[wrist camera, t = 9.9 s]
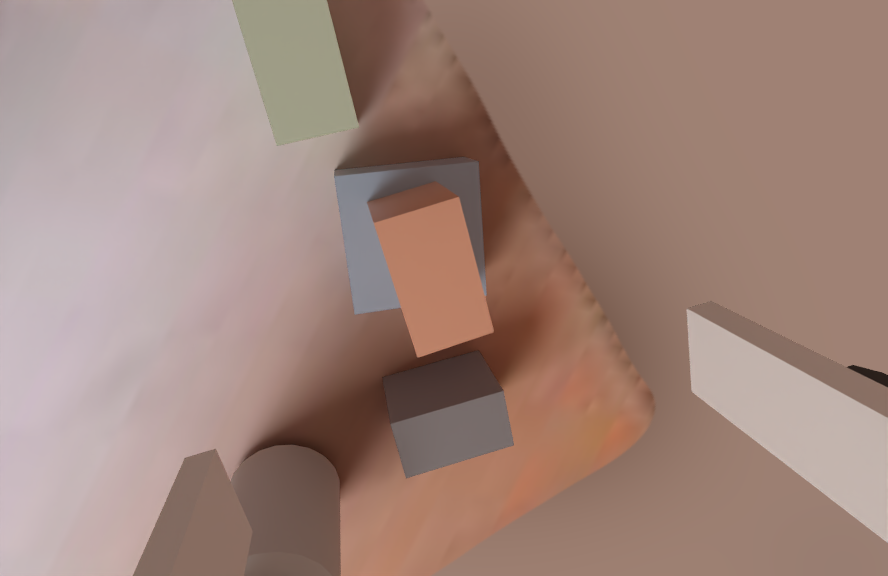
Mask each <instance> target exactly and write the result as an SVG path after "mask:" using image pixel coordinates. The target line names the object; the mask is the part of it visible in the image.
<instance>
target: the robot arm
mask: <svg viewBox="0 0 888 576" xmlns="http://www.w3.org/2000/svg"><path fill="white" fill-rule="evenodd" d="M687 321H688V338H689V355H690V371H691V388H692V392H693V393H694V394H696V395H697V396H698V397H699V398H701V399H702V400H704V401H705V402H706V403H707V404H708V405H710V406H711V407H712V408H714V409H715V410H716V411H718V412H719V413H720V414H722V415H723V416H724V417H725V418H727V419H728V420H729V421H730V422H732V423H733V424H734V425H736V426H737V427H738V428H740V429H741V430H742V431H743V432H745V433H746V434H747V435H749V436H750V437H751V438H753V439H754V440H755V441H756V442H758V443H759V444H760V445H762V446H763V447H764V448H765V449H767V450H768V451H769V452H771V453H772V454H773V455H775V456H776V457H777V458H778V459H780V460H781V461H782V462H784V463H785V464H786V465H788V466H789V467H790V468H791V469H793V470H794V471H795V472H797V473H798V474H799V475H800V476H802V477H803V478H804V479H806V480H807V481H808V482H810V483H811V484H812V485H813V486H815V487H816V488H817V489H819V490H820V491H821V492H823V493H824V494H825V495H826V496H828V497H829V498H830V499H832V500H833V501H834V502H835V503H837V504H838V505H839V506H841V507H842V508H843V509H845V510H846V511H847V512H848V513H850V514H851V515H852V516H854V517H855V518H856V519H858V520H859V521H860V522H862V523H863V524H864V525H865V526H867V527H868V528H869V529H870V530H872V531H873V532H875V533H876V534H877V535H878V536H880V537H881V538H882V539H884V540H885V541H886V542H887V543H888V375H886V374H884V373H882V372H878V371H873V370H870V369H866V368H862V367H858V366H854V365H852V366H848V367H845V366H843V365H841V364H839V363H837V362H835V361H833V360H831V359H829V358H826V357H824V356H822V355H820V354H818V353H816V352H814V351H812V350H810V349H808V348H806V347H804V346H802V345H800V344H798V343H796V342H793V341H792V340H790V339H788V338H785V337H783V336H782V335H780V334H777V333H775V332H773V331H771V330H769V329H767V328H765V327H763V326H761V325H759V324H757V323H755V322H753V321H751V320H749V319H747V318H745V317H742V316H741V315H739V314H737V313H735V312H733V311H731V310H728V309H727V308H724V307H722V306H720V305H718V304H716V303H714V302H712V301H710V302H707V303H703V304H700V305H697V306H693V307H690V308H687ZM252 533H253V531H252V528H251V526H250V524H249V522H248V520H247V517H246V515H245V513H244V511H243V508H242V506H241V504H240V502H239V500H238V497H237V495H236V493H235V491H234V488H233V486H232V484H231V482H230V480H229V477H228V475H227V473H226V471H225V468H224V466H223V464H222V462H221V460H220V457H219V455H218V453H217V451H216V449H213V450H210V451H207V452H203V453H200V454H197V455H193V456H190V457H187V458H185V459H184V461H183V464H182V466H181V468H180V470H179V473H178V475H177V477H176V479H175V482H174V484H173V486H172V488H171V491H170V493H169V495H168V498H167V500H166V502H165V504H164V507H163V509H162V511H161V513H160V516H159V518H158V520H157V522H156V525H155V527H154V529H153V531H152V534H151V536H150V538H149V541H148V543H147V545H146V547H145V550H144V552H143V554H142V556H141V559H140V561H139V563H138V565H137V568H136V570H135V572H134V575H133V576H244V573H245V568H246V563H247V558H248V553H249V548H250V543H251V538H252Z"/></svg>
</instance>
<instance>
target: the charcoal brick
mask: <svg viewBox="0 0 888 576" xmlns="http://www.w3.org/2000/svg"><path fill="white" fill-rule="evenodd" d="M382 378H383V384H384V390H385V396H386V401H387V407H388V413H389V418H390V424H391V428H392V431H393V435H394V438H395V442H396V445H397V448H398V452H399V455H400V459H401V462H402V466H403V469H404V473H405V476H406V478H409V477H412V476H415V475H418V474H422V473H425V472H428V471H431V470H435V469H438V468H441V467H444V466H448V465H451V464H454V463H458V462H461V461H464V460H467V459H471V458H474V457H477V456H480V455H484V454H487V453H490V452H493V451H497V450H500V449H503V448H506V447H510V446H513V445H514V443H513V437H512V432H511V427H510V422H509V417H508V412H507V407H506V401H505V396H504V391H503V389H502V388H501V386H500V384H499V383H498V381H497V380H496V378H495V376H494V375H493V373H492V371H491V370H490V368H489V366H488V365H487V363H486V362H485V360H484V358H483V357H482V355H481V353H480V352H479V350H478V351H474V352H470V353H467V354H463V355H460V356H456V357H453V358H449V359H446V360H442V361H439V362H435V363H432V364H428V365H424V366H421V367H417V368H414V369H410V370H407V371H403V372H400V373H396V374H393V375H389V376H385V377H382Z"/></svg>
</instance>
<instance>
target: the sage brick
mask: <svg viewBox="0 0 888 576" xmlns="http://www.w3.org/2000/svg"><path fill="white" fill-rule="evenodd" d="M232 2H233V5H234V9H235V12H236V15H237V18H238V22H239V25H240V28H241V31H242V34H243V38H244V41H245V44H246V47H247V51H248V54H249V57H250V60H251V64H252V67H253V70H254V73H255V76H256V80H257V83H258V86H259V89H260V93H261V96H262V99H263V102H264V106H265V109H266V112H267V115H268V119H269V122H270V125H271V128H272V131H273V135H274V138H275V141H276V144H277V146H279V145H284V144H288V143H292V142H297V141H301V140H306V139H310V138H315V137H319V136H323V135H328V134H332V133H337V132H341V131H346V130H350V129H355V128H359V125H358V121H357V117H356V113H355V109H354V105H353V101H352V97H351V94H350V90H349V86H348V82H347V78H346V74H345V70H344V66H343V62H342V58H341V54H340V50H339V46H338V42H337V38H336V34H335V30H334V26H333V23H332V19H331V15H330V11H329V7H328V3H327V0H232Z"/></svg>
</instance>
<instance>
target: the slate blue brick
mask: <svg viewBox="0 0 888 576" xmlns="http://www.w3.org/2000/svg"><path fill="white" fill-rule="evenodd" d="M334 178H335V185H336V191H337V198H338V205H339V212H340V218H341V225H342V232H343V239H344V245H345V252H346V259H347V266H348V272H349V279H350V286H351V293H352V299H353V306H354V313H355V314H362V313H369V312H375V311H382V310H389V309H396V308H401V306H400V303H399V300H398V297H397V294H396V291H395V288H394V284H393V281H392V278H391V275H390V272H389V269H388V266H387V263H386V260H385V257H384V254H383V251H382V248H381V244H380V241H379V238H378V235H377V232H376V229H375V226H374V223H373V220H372V217H371V214H370V211H369V207H368V204H367V202H369V201H372V200H376V199H379V198H382V197H385V196H389V195H392V194H395V193H398V192H402V191H405V190H408V189H412V188H415V187H418V186H421V185H425V184H428V183H431V182H435V181H436V182H438V183H439V184H441V185H442V186H444V187H445V188H447V189H448V190H450V191H451V192H453V193H454V194H456V195H457V196H459V198H460V202H461V206H462V210H463V214H464V218H465V222H466V225H467V229H468V233H469V237H470V241H471V245H472V249H473V252H474V256H475V260H476V264H477V268H478V272H479V276H480V279H481V283H482V287H483V291H484V295H487V294H486V277H485V260H484V243H483V226H482V209H481V192H480V175H479V161H476V160H473V159H469V158H466V157H457V158H447V159H437V160H427V161H418V162H408V163H398V164H388V165H378V166H369V167H359V168H349V169H339V170H335V172H334Z"/></svg>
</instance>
